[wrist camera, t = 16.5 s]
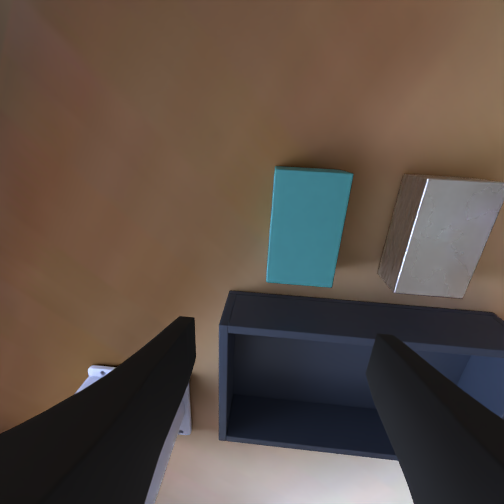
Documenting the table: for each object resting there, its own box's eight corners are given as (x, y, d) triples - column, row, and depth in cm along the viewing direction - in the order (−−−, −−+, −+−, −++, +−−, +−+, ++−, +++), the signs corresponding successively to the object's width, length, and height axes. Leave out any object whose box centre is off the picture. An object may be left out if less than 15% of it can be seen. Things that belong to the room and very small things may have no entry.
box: (227, 392, 24) (218, 440, 20) (229, 290, 20) (218, 324, 16) (443, 415, 23) (478, 470, 19) (492, 312, 19) (550, 354, 15)
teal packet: (267, 264, 19) (266, 282, 16) (275, 166, 16) (275, 168, 14) (323, 269, 19) (332, 288, 16) (341, 169, 16) (354, 173, 14)
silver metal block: (376, 273, 19) (393, 293, 16) (402, 173, 16) (428, 177, 13) (436, 278, 18) (463, 299, 16) (472, 177, 16) (512, 183, 13)
